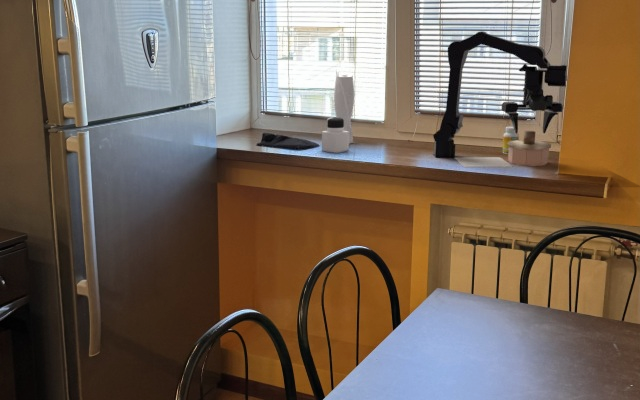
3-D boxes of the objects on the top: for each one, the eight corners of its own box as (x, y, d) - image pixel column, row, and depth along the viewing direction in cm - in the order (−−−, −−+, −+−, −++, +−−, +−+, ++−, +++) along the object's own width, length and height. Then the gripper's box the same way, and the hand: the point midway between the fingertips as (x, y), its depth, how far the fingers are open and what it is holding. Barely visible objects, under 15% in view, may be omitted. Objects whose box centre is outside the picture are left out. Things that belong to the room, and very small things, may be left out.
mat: (463, 168, 247) (463, 166, 247) (453, 158, 262) (453, 157, 262) (512, 168, 247) (512, 166, 247) (499, 158, 263) (499, 157, 263)
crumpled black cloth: (296, 152, 276) (296, 139, 275) (252, 146, 290) (252, 133, 288) (323, 147, 287) (323, 134, 286) (280, 141, 301) (280, 129, 300)
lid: (514, 149, 246) (514, 135, 245) (502, 142, 259) (503, 128, 258) (556, 149, 246) (558, 134, 245) (542, 142, 260) (543, 128, 259)
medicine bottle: (349, 150, 278) (349, 117, 275) (336, 153, 273) (336, 119, 270) (334, 148, 283) (334, 116, 280) (321, 150, 277) (321, 117, 275)
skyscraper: (329, 142, 294) (329, 69, 287) (341, 140, 300) (342, 68, 293) (345, 145, 289) (346, 70, 282) (357, 142, 294) (358, 69, 288)
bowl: (514, 167, 248) (516, 149, 247) (505, 160, 260) (506, 143, 259) (551, 167, 249) (552, 149, 247) (539, 160, 260) (541, 142, 259)
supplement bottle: (509, 152, 275) (511, 125, 273) (520, 154, 271) (522, 127, 269) (499, 153, 273) (500, 126, 270) (510, 155, 268) (512, 128, 266)
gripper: (511, 88, 240) (508, 137, 244) (570, 87, 241) (566, 136, 244) (502, 84, 251) (499, 131, 255) (558, 84, 251) (555, 131, 255)
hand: (530, 133), depth 252 cm, fingers open, 9 cm apart
